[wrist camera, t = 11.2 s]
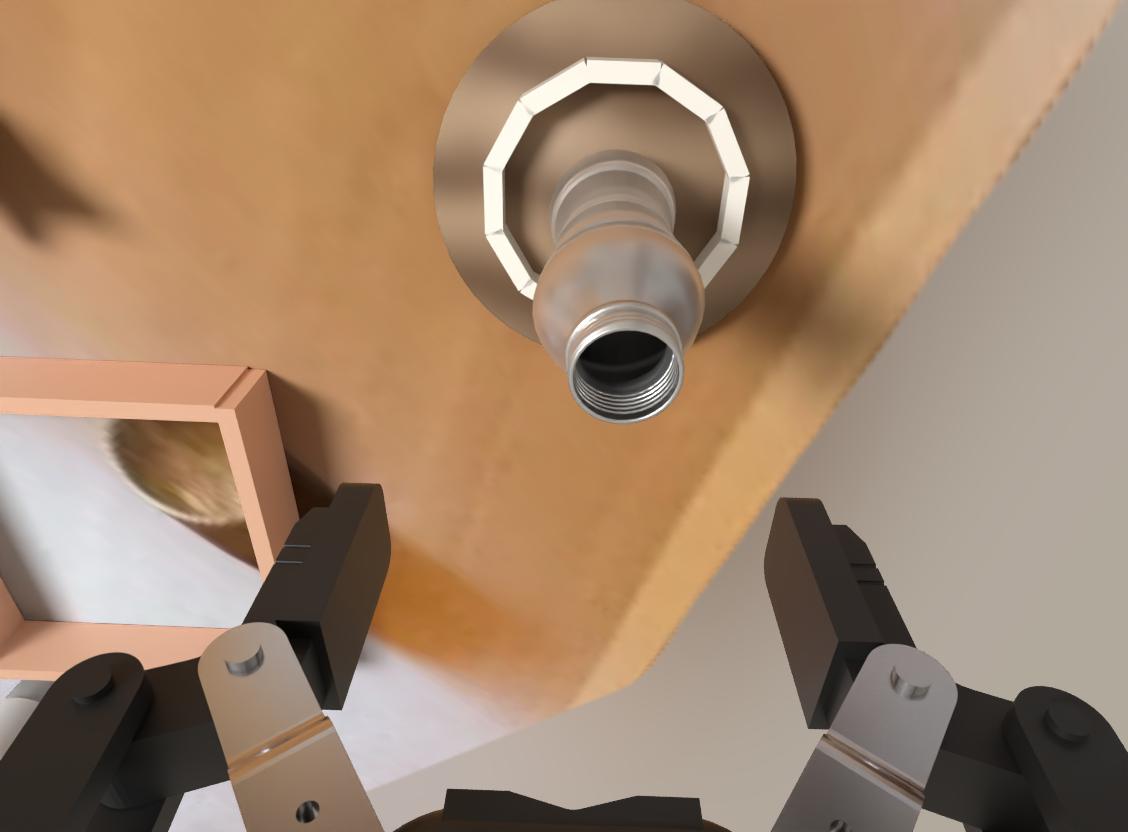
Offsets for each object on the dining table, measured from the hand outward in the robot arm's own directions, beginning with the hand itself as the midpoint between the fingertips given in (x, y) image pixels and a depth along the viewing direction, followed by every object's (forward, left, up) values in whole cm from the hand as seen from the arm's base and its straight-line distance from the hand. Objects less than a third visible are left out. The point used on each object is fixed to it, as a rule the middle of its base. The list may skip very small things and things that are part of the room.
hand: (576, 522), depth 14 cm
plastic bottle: (+1, +2, -29) cm, 29 cm away
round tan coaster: (+1, +2, -30) cm, 30 cm away
